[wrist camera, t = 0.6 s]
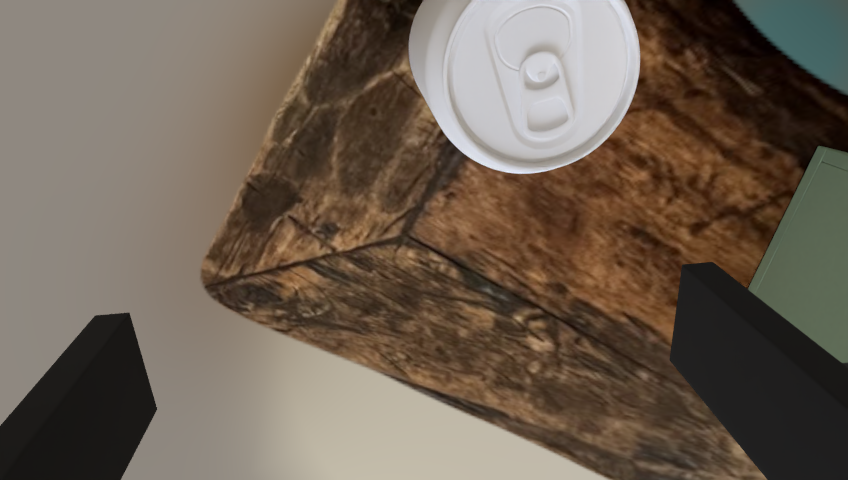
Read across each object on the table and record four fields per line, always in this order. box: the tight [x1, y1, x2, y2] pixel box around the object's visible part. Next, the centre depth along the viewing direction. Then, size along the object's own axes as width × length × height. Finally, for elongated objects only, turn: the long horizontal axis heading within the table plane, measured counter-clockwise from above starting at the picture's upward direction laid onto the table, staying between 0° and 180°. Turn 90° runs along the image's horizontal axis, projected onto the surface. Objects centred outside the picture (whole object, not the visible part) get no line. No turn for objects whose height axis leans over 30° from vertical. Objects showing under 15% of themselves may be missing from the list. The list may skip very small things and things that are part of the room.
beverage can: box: [409, 0, 640, 174], centre depth 26 cm, size 8×8×12 cm
